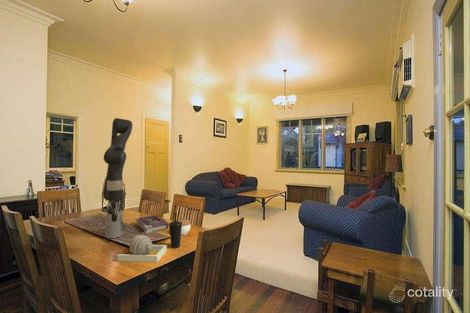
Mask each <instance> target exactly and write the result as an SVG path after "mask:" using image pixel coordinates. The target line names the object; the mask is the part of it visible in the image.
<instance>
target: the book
mask: <svg viewBox="0 0 470 313" xmlns="http://www.w3.org/2000/svg"><path fill="white" fill-rule="evenodd" d="M134 221H136V222H135V223H134V224H135V225H136V226H137V227H138V228H139V229H140V230H142V231H143V232H144V233H145V234H149V233H155V232H159V231H164V230H170V228H169V223H170V222H169V221H168V220H167V221H166V220H165V219H164V218H162V217H160V216H159V215H156V214H154V215H147V216H142V217H141V216H140V217H139V216H138V217H134Z"/></svg>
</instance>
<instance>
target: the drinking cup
mask: <svg viewBox="0 0 470 313" xmlns="http://www.w3.org/2000/svg"><path fill="white" fill-rule="evenodd" d="M168 223H169V237H170V247H171V249H178V248H180V247H181V239H182V238H181V237H182V235H181V228H182V222H180V221H178V220H177V212H176V211H175V212H174V220H173V221H170V222H168Z"/></svg>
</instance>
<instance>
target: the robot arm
mask: <svg viewBox="0 0 470 313" xmlns="http://www.w3.org/2000/svg"><path fill="white" fill-rule="evenodd" d="M111 126H112V127H111V128H112V129H111V141H110V146H109V147H108V148H107V150H106V151H105V152H104V155H103V161H104V163H106V164H107V170H106V176H105V181H104V186H103V189H102V195H103V199H105V200H106V201H108V202H107V203H108V204H107V205H106V206H105V207H104V208H105V212H106V213H105V215H106V216H105V219H106V220H105V222H104V238H105V237H108V238H107V239H109V238H114V239H118V238H117V237H119V238H121V237H123V205H124V198H125V197H124V196H125V191H124V185H123V171H124V168H125V167H124V166H125V163H126V160H127V153H126V152H125V150H126V149H125V148H126V145H127V142H128V141H129V138H130V136H131V134H132V132H133V122H132V121H131V120H129V119H124V118H119V117H118V118H117V117H116V118H114V119H113V121H112V125H111ZM118 134H119V135H118ZM120 236H121V237H120Z"/></svg>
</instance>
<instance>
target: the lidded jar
mask: <svg viewBox="0 0 470 313" xmlns="http://www.w3.org/2000/svg"><path fill="white" fill-rule="evenodd" d="M177 221H180V222H182V228H181V236H185V235H187V234H188V233H189V232H190V230H191V223H192V221H191V220H189V219H183V218H182V219H178V220H177Z"/></svg>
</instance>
